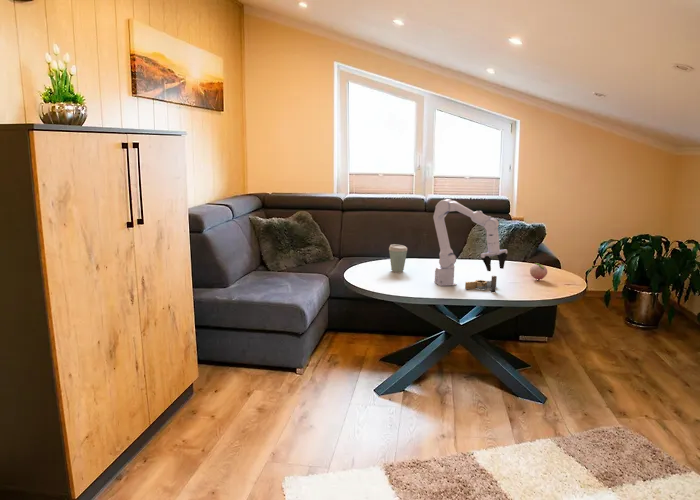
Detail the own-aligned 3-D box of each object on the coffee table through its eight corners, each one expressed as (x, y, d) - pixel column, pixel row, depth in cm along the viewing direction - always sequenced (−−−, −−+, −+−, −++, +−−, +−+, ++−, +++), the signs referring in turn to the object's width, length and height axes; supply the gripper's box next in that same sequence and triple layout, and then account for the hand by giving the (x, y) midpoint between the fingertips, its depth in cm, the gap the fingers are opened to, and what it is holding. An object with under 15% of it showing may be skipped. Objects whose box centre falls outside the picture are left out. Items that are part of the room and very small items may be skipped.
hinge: (467, 290, 278) (468, 283, 278) (463, 287, 284) (463, 280, 283) (498, 288, 282) (498, 282, 282) (493, 285, 288) (493, 279, 287)
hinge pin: (492, 292, 275) (493, 277, 274) (489, 291, 277) (490, 275, 276) (496, 292, 276) (497, 276, 274) (494, 291, 278) (495, 275, 276)
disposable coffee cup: (406, 269, 320) (407, 244, 316) (406, 274, 309) (407, 247, 306) (388, 268, 321) (389, 243, 317) (387, 273, 310) (388, 247, 307)
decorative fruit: (525, 278, 304) (527, 260, 302) (538, 277, 306) (539, 260, 304) (536, 283, 295) (537, 264, 293) (549, 282, 297) (550, 264, 295)
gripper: (485, 245, 268) (488, 273, 270) (510, 241, 273) (512, 268, 275) (477, 244, 275) (479, 271, 276) (501, 240, 280) (503, 266, 282)
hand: (495, 269), depth 276 cm, fingers open, 7 cm apart
